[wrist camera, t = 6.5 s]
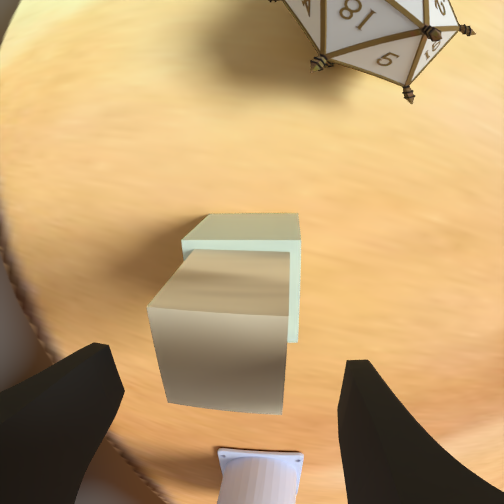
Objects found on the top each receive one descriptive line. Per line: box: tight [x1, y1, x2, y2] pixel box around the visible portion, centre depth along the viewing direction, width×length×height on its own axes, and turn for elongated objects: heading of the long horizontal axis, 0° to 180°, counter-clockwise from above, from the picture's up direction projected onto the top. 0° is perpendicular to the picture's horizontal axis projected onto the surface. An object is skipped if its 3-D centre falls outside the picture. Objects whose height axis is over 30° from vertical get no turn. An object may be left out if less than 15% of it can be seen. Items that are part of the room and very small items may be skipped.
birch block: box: [147, 249, 290, 415], centre depth 11 cm, size 4×4×5 cm
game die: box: [269, 0, 476, 104], centre depth 10 cm, size 9×8×10 cm
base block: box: [181, 213, 301, 342], centre depth 16 cm, size 5×5×5 cm
